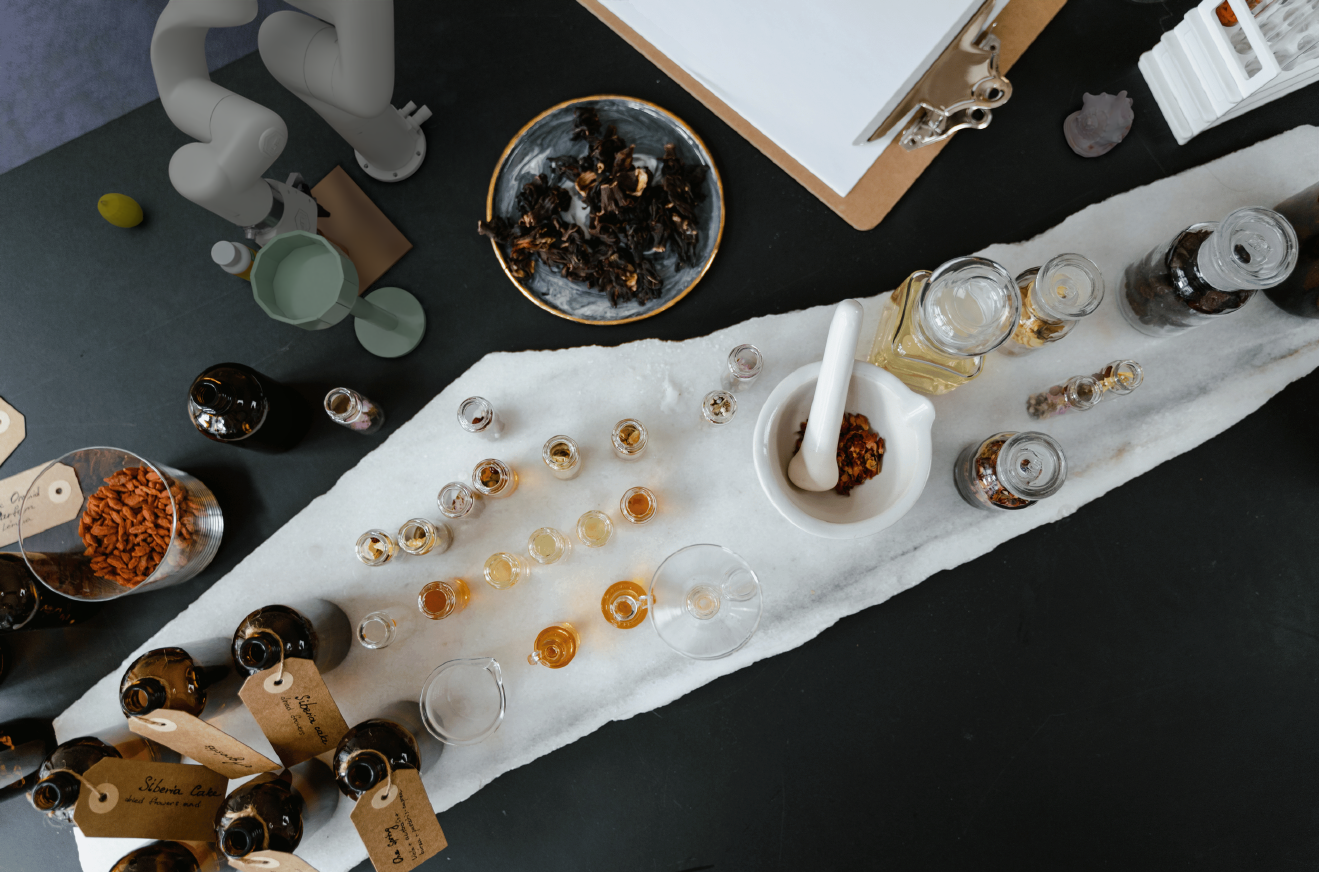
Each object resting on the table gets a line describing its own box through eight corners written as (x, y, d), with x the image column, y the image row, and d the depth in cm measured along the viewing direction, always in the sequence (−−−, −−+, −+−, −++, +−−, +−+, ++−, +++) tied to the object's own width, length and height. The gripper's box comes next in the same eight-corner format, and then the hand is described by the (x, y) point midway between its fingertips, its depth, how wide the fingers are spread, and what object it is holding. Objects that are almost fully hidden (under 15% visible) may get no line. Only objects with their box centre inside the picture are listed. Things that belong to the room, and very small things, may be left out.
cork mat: (340, 166, 118) (338, 164, 118) (413, 246, 117) (412, 245, 117) (257, 241, 118) (255, 240, 118) (330, 323, 117) (328, 322, 117)
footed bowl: (394, 274, 117) (300, 211, 88) (440, 324, 117) (361, 279, 88) (342, 321, 117) (232, 274, 88) (388, 372, 117) (292, 342, 88)
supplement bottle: (238, 267, 118) (200, 250, 109) (262, 248, 118) (225, 229, 109) (257, 290, 118) (219, 275, 108) (280, 271, 118) (245, 254, 108)
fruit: (131, 199, 119) (92, 180, 111) (159, 209, 119) (121, 191, 111) (119, 227, 119) (79, 210, 111) (147, 238, 119) (109, 222, 111)
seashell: (1050, 116, 115) (1083, 85, 106) (1112, 84, 115) (1150, 51, 105) (1078, 167, 114) (1114, 140, 105) (1141, 135, 114) (1182, 106, 105)
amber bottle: (337, 237, 117) (308, 218, 108) (354, 256, 117) (327, 239, 108) (317, 255, 117) (286, 237, 108) (334, 275, 117) (305, 259, 108)
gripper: (277, 265, 94) (339, 295, 111) (284, 145, 95) (345, 193, 112) (225, 264, 94) (295, 293, 112) (233, 144, 95) (301, 192, 112)
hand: (320, 243), depth 112 cm, fingers open, 9 cm apart
